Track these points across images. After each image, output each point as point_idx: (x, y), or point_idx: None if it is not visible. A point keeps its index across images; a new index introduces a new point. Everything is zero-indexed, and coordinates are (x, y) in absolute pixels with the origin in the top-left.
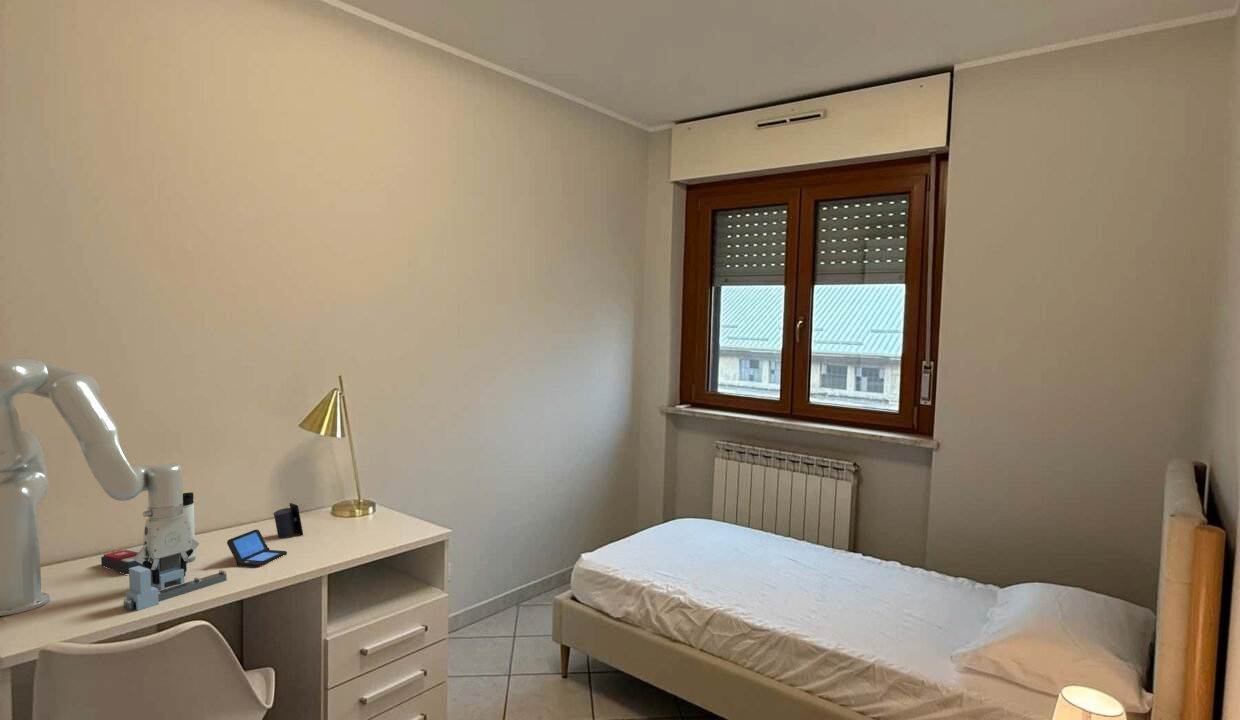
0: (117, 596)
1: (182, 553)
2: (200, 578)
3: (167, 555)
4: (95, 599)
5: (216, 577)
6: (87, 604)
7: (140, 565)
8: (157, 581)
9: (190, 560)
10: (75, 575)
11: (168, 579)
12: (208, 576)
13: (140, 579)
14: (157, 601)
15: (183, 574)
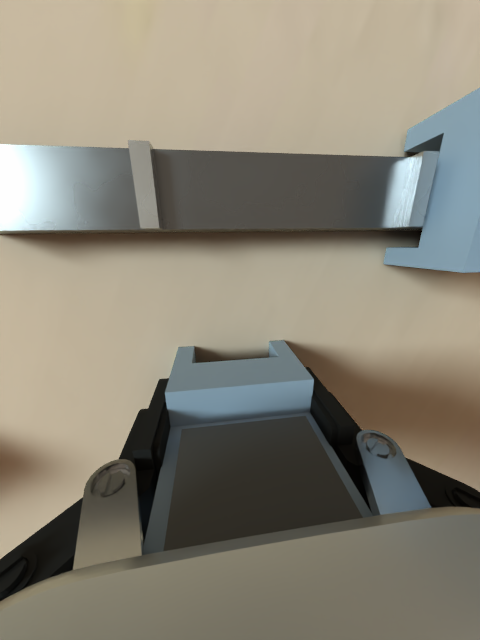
0: (391, 406)
1: (121, 557)
2: (117, 227)
3: (365, 532)
4: (431, 430)
5: (8, 145)
6: (469, 404)
7: None
8: (309, 373)
9: None
10: None
11: (260, 363)
12: (56, 216)
13: None
14: (427, 121)
15: (173, 373)
